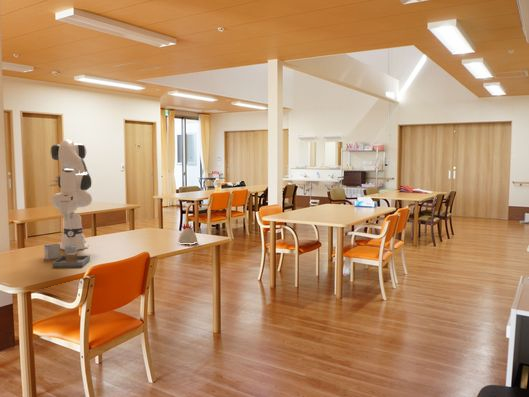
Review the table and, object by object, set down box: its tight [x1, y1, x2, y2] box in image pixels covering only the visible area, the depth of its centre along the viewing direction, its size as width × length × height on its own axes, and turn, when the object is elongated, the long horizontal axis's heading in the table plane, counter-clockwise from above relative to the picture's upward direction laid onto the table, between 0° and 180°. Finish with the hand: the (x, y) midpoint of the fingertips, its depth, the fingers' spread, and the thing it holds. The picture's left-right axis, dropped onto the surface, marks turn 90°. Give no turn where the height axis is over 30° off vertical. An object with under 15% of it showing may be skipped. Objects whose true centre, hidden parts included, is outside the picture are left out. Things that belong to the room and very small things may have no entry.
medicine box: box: [44, 242, 61, 260], centre depth 283 cm, size 8×4×9 cm, turn 141°
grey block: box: [64, 245, 78, 256], centre depth 280 cm, size 7×7×8 cm
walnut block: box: [66, 252, 78, 262], centre depth 268 cm, size 5×5×5 cm
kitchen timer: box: [177, 223, 198, 243], centre depth 337 cm, size 14×14×15 cm
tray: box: [51, 255, 91, 269], centre depth 268 cm, size 18×16×3 cm
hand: (69, 220), depth 268 cm, fingers open, 8 cm apart
